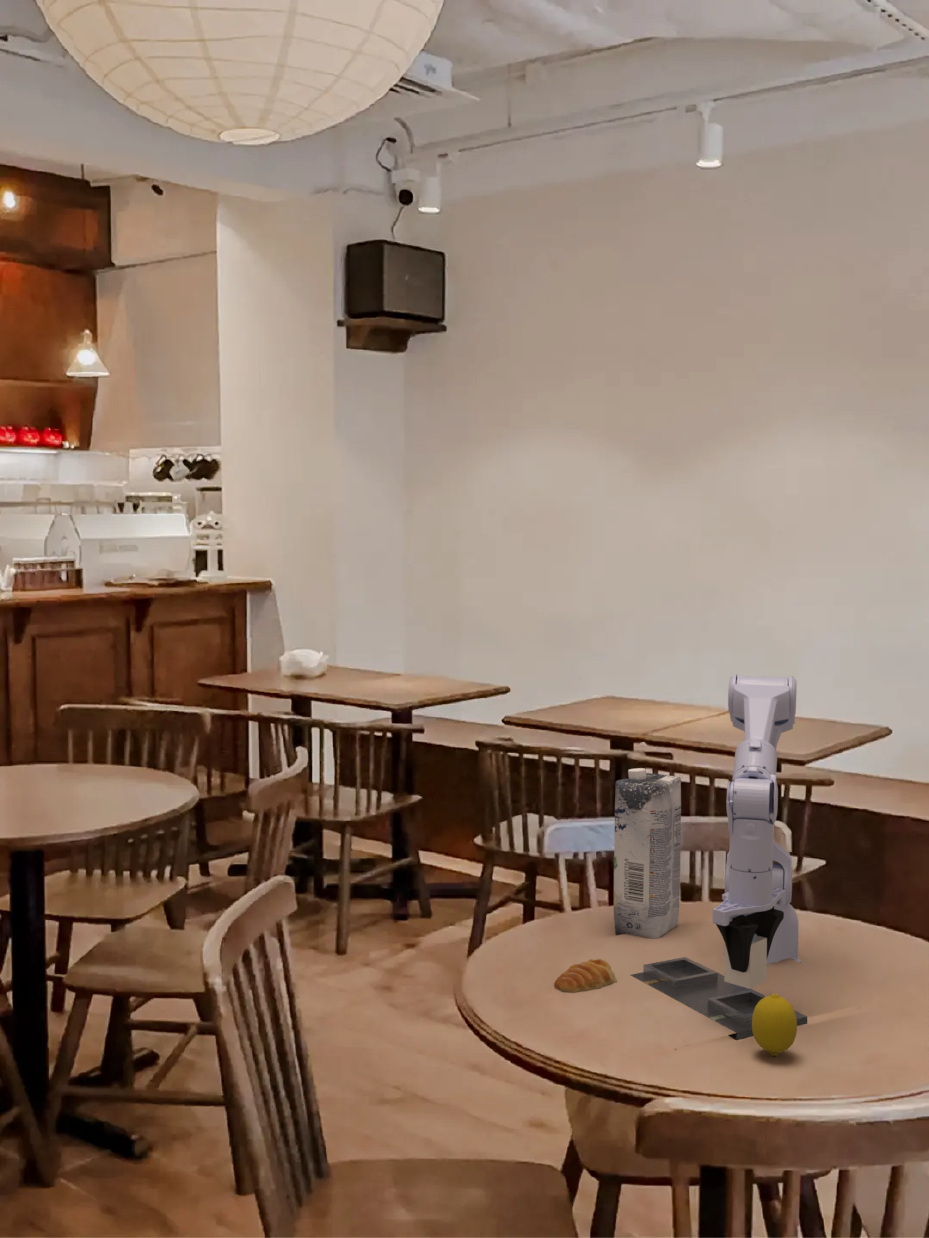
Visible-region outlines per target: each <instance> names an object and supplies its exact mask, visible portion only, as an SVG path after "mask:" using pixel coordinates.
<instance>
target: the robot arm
mask: <svg viewBox="0 0 929 1238" xmlns="http://www.w3.org/2000/svg"><path fill="white" fill-rule="evenodd" d="M727 691H728V692H727V694H728V695H727V696H728V697H727V707H728V708H727V709H728V713H729V719H730V722H732V723H731V724H732V727H734V728H735V729H737V730H739V731H742V732H744V741H742V742H741V743H739V744H738V745H737V747H736V749H735V752H734V761H733V771H732V772H733V773H732V781H728V783H727V788H726V800H725V801H726V814H727V815H726V816H727V823H728V825H727V826H728V828H727V830H728V832H727V833H728V834H729V847H728V848H729V851H728V852H727V854H726V855H727V856H726V865H725V872H724V873H725V875H724V893H723V894H721V899H722V900H723V901H722V902H721V903H720V904H719V905H718V906H716V907H714V908H712V923H713V924H715V926H716V927H717V929H718V930H719V932H720V935H721V936H722V939H723V941H724V946H725V945H726V948H727V952H728V956H729V960H730V965H731V969H733V970H736V971H740V972H743V973H744V972H747V969H748V965H749V958H750V949H751V944H752V940H753V937H754V934H757V936H761V937H765V938H767V965H773V964H776V963H779V962H782V961H784V960H790V959H792V960H795V962H799V963H802V960H801V959H799V924H800V923H799V918H798V914H797V912H796V910H795V908H794V906H792V904H790V903H791V902H792V893H793V866H792V863H793V861H792V860H793V859H792V856H791V854H790V852H789V851H788V850H787V849H786V848H785V847H784V846H782V845H781V844H780V843H778V842H777V841H776V840H775V823H776V820H777V818H778V817H777V816H778V809H779V808H778V805H779V804H778V803H779V802H778V801H779V788H778V781H777V764H778V752H777V746H778V743H779V740H780V738H781V735H782V733H785V732H788V731H790V730H793V729H794V724H795V723H796V713H797V712H796V710H797V679H796V678H794V676H790V675H789V677H788V676H787V677H786V676H766V675H765V676H761V675H738V674H735V673H734V674H732V676H730V677H729V680H728V690H727Z"/></svg>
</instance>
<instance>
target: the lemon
mask: <svg viewBox="0 0 929 1238" xmlns="http://www.w3.org/2000/svg"><path fill="white" fill-rule="evenodd" d="M765 996H766V995H765ZM794 1010H795V1009H794V1008H793V1006H792V1004H791V1003H790V1002H789V1001H788V1000H787V999H786V998H784V997H782V996H780V995H779V994H778V993H775V992H774V993H771V995H770V994H769V995H767V996H766V997H764V998H763V999H761V1000H760V1001H759V1002H758V1003H757V1005H756V1007H755V1009H754V1012H753V1017H752V1032H753V1036H752V1037H753V1038H754V1040H755V1042H756V1043H757V1045H758V1046H759V1047H760V1048H761V1049H763V1050H765V1051H766V1052H768V1053H769V1054H770V1055H771V1056H773V1057H776V1056H777V1055H779V1054H780V1053H782V1052H785V1051H788V1049H789V1048H791V1046H793V1044H794V1042H795V1039H796V1036H797V1031H798V1026H797V1020H796V1015H795V1012H794Z"/></svg>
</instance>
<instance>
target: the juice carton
mask: <svg viewBox="0 0 929 1238" xmlns="http://www.w3.org/2000/svg"><path fill="white" fill-rule="evenodd" d="M627 774H628V778H623V779H618V780H616V781H615V789H614V790H615V793H614V795H615V797H614V800H615V801H614V841H613V842H614V843H613V844H614V845H613V846H614V850H613V853H614V854H613V855H614V857H613V865H614V867H613V923H614V932H615V935H616V936H621V935H630V936H631V935H632V936H638V937H643V938H648V939H654V940H656V939H657V940H658V939H660V938H661V937H662V936H663V935H665V934H667V933H668V932H670V931H671V930H673V929H674V928H676V927H677V926H678V921H679V915H680V896H681V895H680V894H681V893H680V891H681V890H680V888H681V886H680V885H681V884H680V883H681V879H680V878H681V837H682V836H681V835H682V834H681V833H682V831H681V830H682V828H681V827H682V823H681V822H682V787H681V786H682V785H681V784H682V778H681V777H679V776H675V775H668V774H663V773H662V774H659V773H652V772H651V773H650V772H647V771H646V768H644V767H643V768H642V767H640V768H639V767H638V768H630V769H628V771H627Z"/></svg>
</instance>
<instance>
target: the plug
mask: <svg viewBox="0 0 929 1238" xmlns="http://www.w3.org/2000/svg"><path fill="white" fill-rule="evenodd" d="M767 965H768V964H767V938H765V937H761V936H757V934H754V937H753V940H752V944H751V949H750V958H749V965H748V969H747V972H744V973H743V972H740V971H736V970H733V969H731V965H730V960H729V956H728V952H727V948H726V945H725V944H724V972H723V973H724V974H723V975H724V981H725V982H728V983H731V984H735V985H738V986H742V987H745V988H748V989H752V988H755V987H757V986H759V985H762V984H765V983H766V982H767V969H768V967H767Z"/></svg>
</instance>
